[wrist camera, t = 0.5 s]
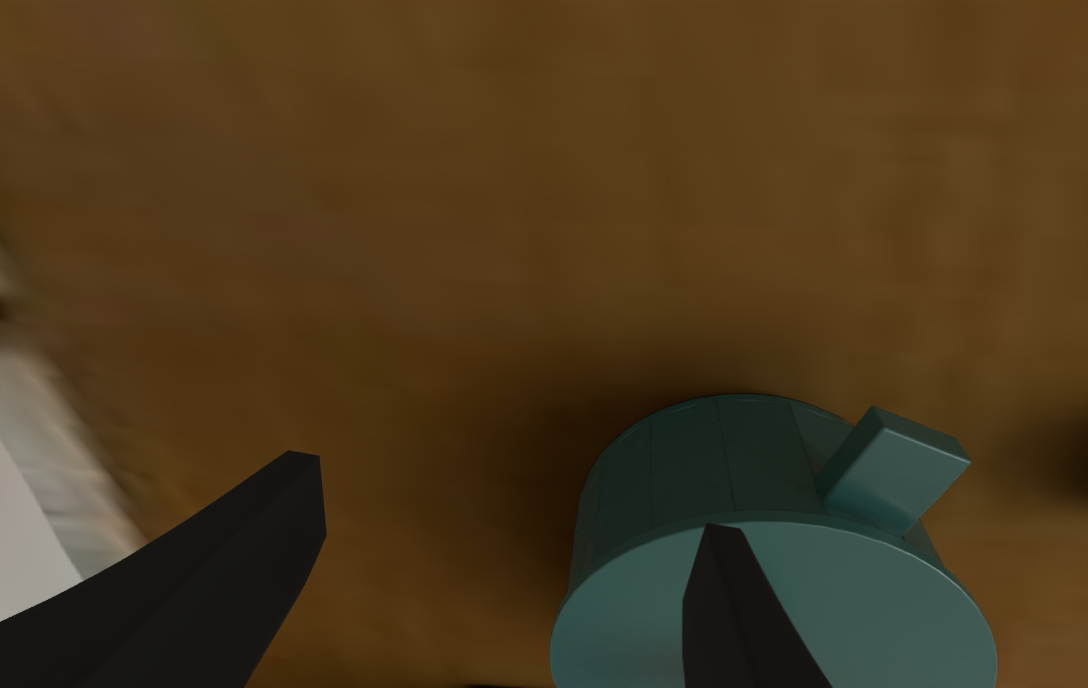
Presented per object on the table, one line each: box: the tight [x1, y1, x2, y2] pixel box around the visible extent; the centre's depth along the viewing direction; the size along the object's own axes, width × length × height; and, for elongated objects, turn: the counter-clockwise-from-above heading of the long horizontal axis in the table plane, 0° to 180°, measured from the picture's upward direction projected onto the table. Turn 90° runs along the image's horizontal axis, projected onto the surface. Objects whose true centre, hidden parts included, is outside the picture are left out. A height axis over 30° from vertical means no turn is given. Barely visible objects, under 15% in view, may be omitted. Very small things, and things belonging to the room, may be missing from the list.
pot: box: [567, 394, 971, 592], centre depth 22 cm, size 11×17×6 cm
